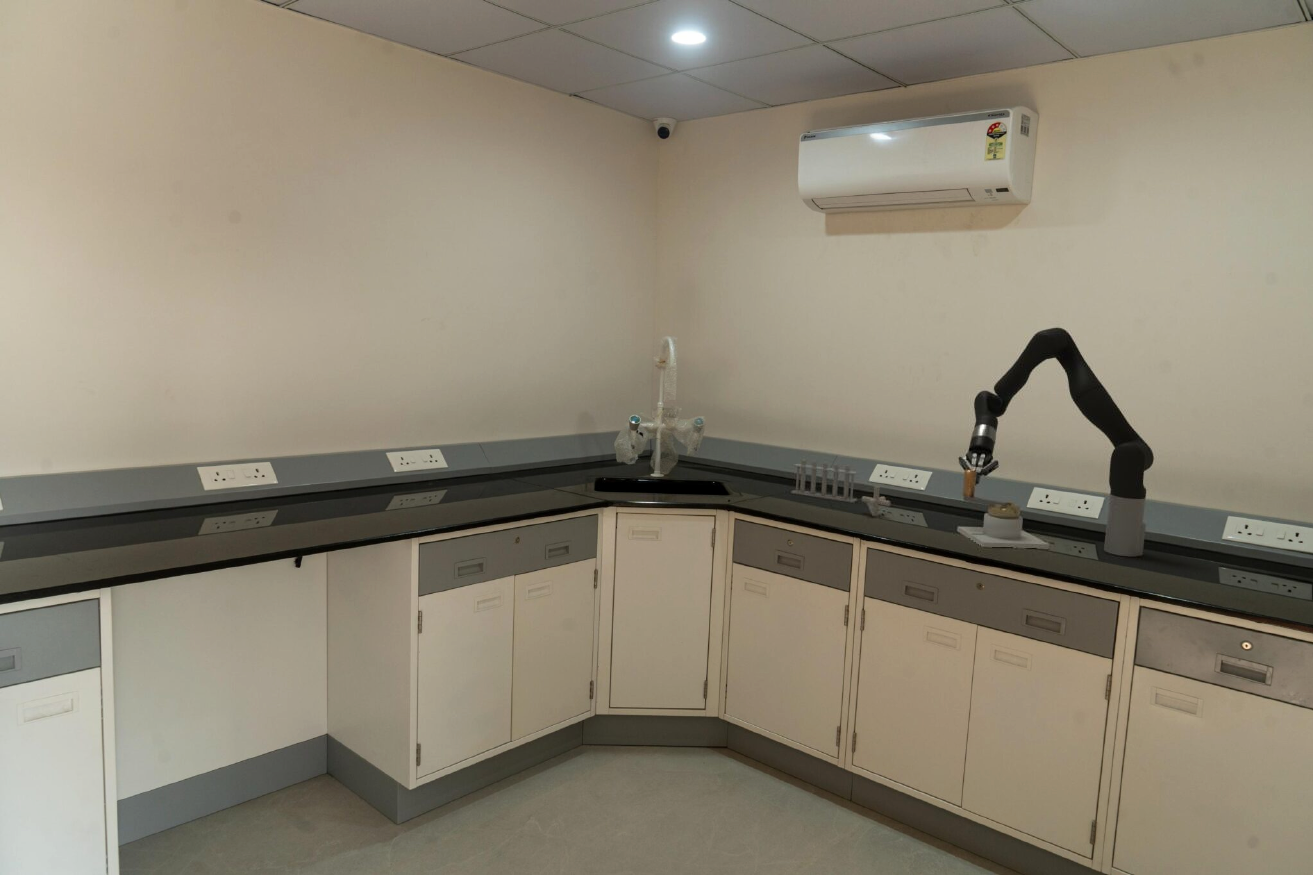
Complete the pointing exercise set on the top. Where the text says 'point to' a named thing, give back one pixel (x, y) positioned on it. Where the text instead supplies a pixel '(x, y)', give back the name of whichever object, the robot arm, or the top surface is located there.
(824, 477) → the test tube rack
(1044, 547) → the cylinder on square plate
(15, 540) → the top surface
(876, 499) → the pipe connector
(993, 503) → the lever-handled chuck
